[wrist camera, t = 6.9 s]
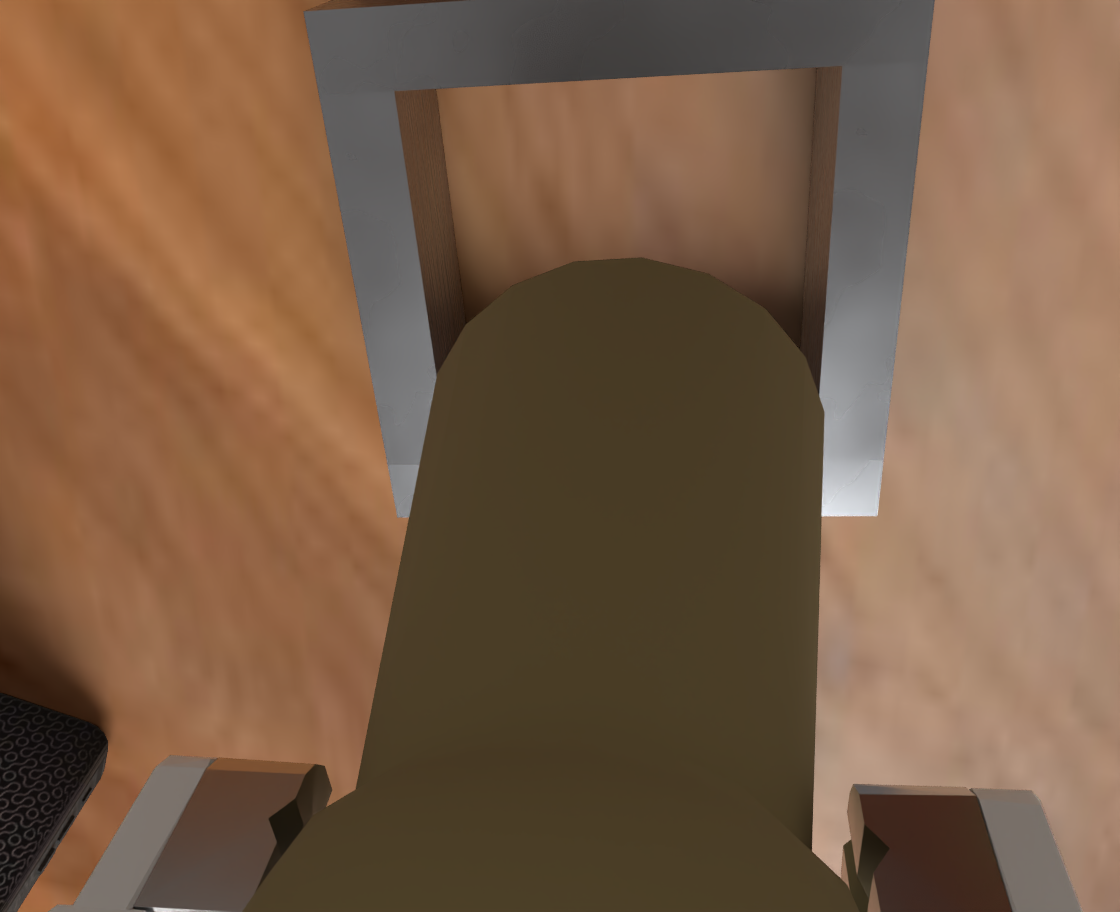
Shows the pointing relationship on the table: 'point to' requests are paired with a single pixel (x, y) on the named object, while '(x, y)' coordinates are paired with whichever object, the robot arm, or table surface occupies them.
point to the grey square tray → (610, 53)
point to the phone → (40, 788)
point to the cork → (596, 621)
